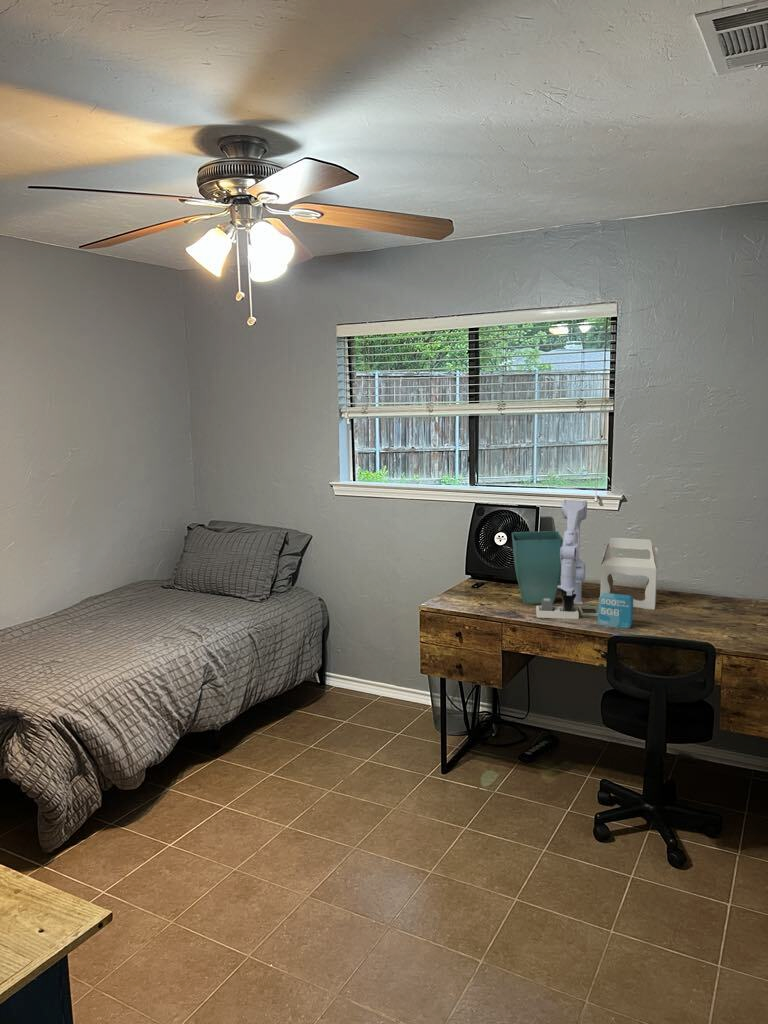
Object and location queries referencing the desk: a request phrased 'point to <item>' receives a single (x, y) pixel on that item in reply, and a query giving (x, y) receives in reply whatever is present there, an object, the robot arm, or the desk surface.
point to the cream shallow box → (557, 613)
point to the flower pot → (537, 564)
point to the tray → (588, 608)
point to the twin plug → (546, 604)
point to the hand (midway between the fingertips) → (567, 608)
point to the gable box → (631, 570)
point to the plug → (571, 609)
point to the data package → (615, 610)
